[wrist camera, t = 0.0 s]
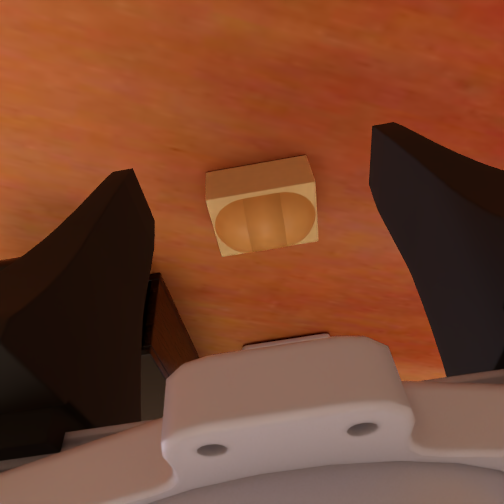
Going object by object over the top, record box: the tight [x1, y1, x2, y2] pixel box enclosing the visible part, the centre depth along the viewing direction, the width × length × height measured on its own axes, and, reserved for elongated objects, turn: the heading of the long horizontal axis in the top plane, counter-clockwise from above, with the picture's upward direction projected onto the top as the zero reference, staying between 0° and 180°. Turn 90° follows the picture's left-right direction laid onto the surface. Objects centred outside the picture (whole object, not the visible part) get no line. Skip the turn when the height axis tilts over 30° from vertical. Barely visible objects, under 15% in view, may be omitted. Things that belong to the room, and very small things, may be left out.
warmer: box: [141, 273, 199, 421], centre depth 32 cm, size 13×12×7 cm
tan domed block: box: [205, 155, 318, 257], centre depth 24 cm, size 4×6×4 cm
